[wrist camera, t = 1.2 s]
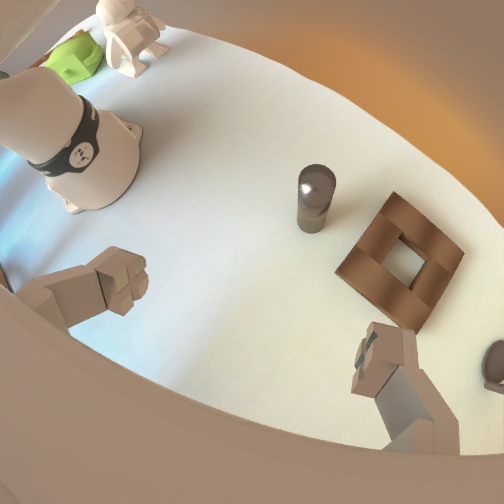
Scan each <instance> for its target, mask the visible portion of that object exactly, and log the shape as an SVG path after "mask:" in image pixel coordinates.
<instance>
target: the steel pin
mask: <svg viewBox="0 0 504 504" xmlns="http://www.w3.org/2000/svg"><path fill="white" fill-rule="evenodd" d="M335 187H336V178H335V175H334V173H333V172H332V171H331V170H330V169H329V168H327V167H326V166H323V165H319V164H313V165H309V166H307V167H306V168H304V169H303V170H302V171H301V173H300V175H299V183H298V215H297V222H298V225H299V227H300V229H301V230H302V231H304V232H306V233H316V232H318V231H320V230H321V229H322V227H323V225H324V222H325V219H326V216H327V213H328V209H329V206H330V203H331V200H332V197H333V194H334V190H335Z"/></svg>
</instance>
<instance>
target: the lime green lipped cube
mask: <svg viewBox="0 0 504 504" xmlns="http://www.w3.org/2000/svg"><path fill="white" fill-rule="evenodd" d="M102 50H103V49H102V48H101V46H100V45H97V43H96V42H95V40H94V39H93V38H92V36H91V35H90V34H89V32H85V33H82V34H80V35H78V36H75V37H73V38H71V39H69V40H67V41H65V42H63V43H61V44H59V45H58V46H56V48H55V49H54V50H53V52H52V53H51V55H50V57H49V59H48V61H47V62H46V64H45V66H44V67H48V68H51V69H53V70H55V71H56V72H57V73H58V74H59V76H60V77H61V78H62V79H63V80H64V81H65V82H66V83H67V84H68V85H71V84H74V83H77V82H79V81H82V80H84V79H87V78H89V77H91V76H93V74H94V72H95V71H96V69H97V67H98V65H99V63H100V62H101V60H102V58H103V55H104V53H103V52H102Z"/></svg>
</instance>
